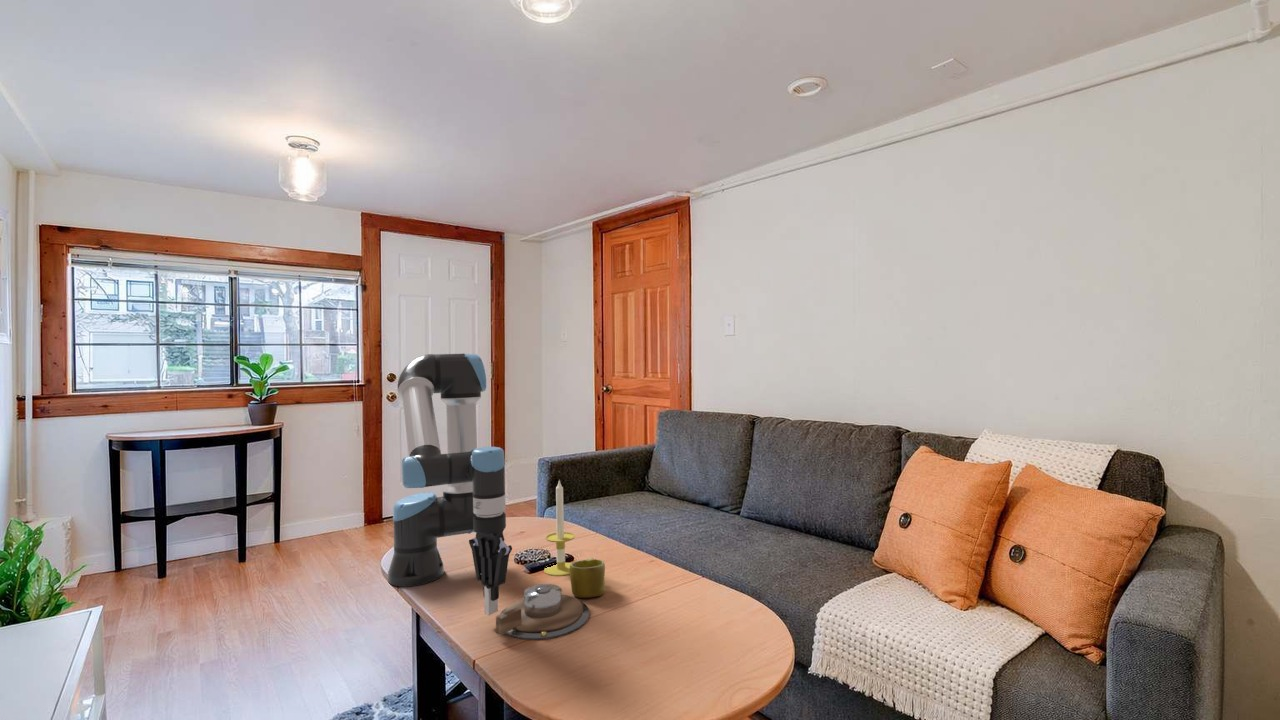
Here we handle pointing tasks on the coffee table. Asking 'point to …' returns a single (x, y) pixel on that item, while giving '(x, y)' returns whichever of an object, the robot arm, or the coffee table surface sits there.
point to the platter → (525, 623)
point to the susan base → (551, 634)
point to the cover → (542, 600)
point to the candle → (559, 538)
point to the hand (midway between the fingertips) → (491, 612)
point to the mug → (587, 578)
